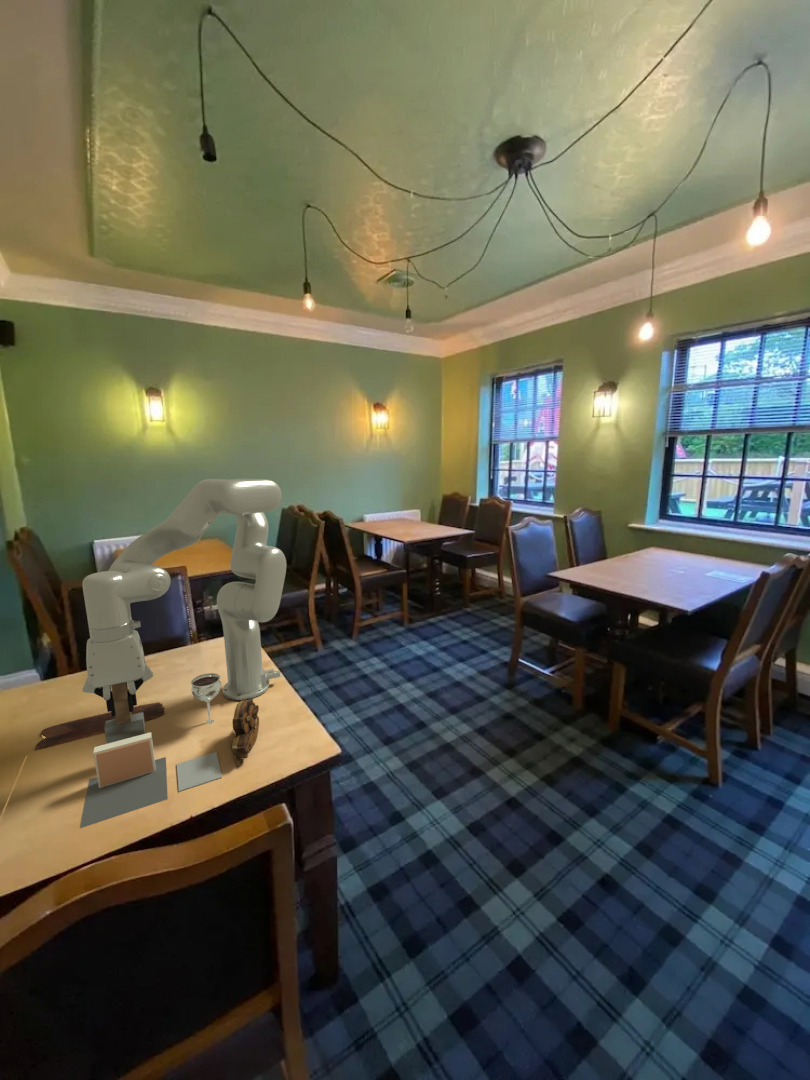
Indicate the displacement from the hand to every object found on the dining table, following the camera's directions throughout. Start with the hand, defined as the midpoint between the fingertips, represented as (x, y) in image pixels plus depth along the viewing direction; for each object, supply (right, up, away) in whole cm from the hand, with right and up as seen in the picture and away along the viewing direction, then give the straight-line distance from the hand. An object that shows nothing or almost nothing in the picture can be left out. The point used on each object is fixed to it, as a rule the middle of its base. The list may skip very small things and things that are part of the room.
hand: (123, 710), depth 96 cm
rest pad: (+17, -13, -2) cm, 21 cm away
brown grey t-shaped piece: (0, -6, +1) cm, 6 cm away
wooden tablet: (-14, -10, +16) cm, 24 cm away
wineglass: (+12, -10, +16) cm, 22 cm away
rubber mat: (+5, -14, -7) cm, 16 cm away
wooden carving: (+24, -11, +8) cm, 28 cm away
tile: (+3, -12, -3) cm, 13 cm away
